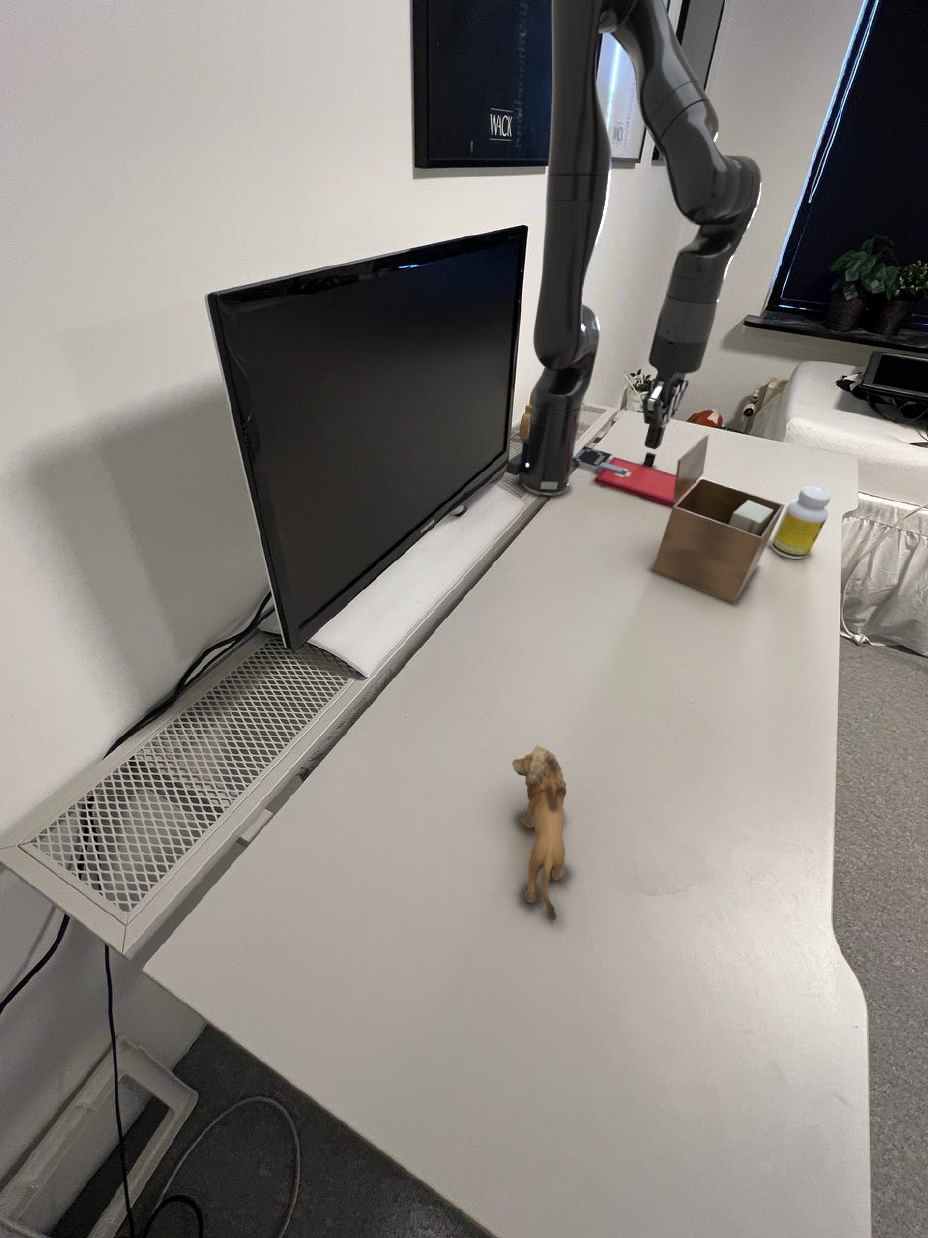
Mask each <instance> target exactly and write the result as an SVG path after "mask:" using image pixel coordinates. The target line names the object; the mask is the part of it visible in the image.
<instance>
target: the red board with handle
mask: <svg viewBox="0 0 928 1238" xmlns="http://www.w3.org/2000/svg"><path fill="white" fill-rule="evenodd" d="M612 455H613V454H612V453H609V452H606V451H602V450H599V449H595V448H592V447H588V446H587V445H586V446H583V447H582V448H581V449H580V450H579V451H578V452H577V453H576V454H575V455H573V459H572V463H576V464H579V465H581V466H586V467H589V468H593V469H596V470H597V474H596V476H595V477H594V480H593V481H594V483H597V484H600V485H603V486H606V487H610V488H613V489H616V490H619V491H622V492H625V493H628V494H630V495H631V494H632V495H635V496H637V497H641V498H645V499H648V500H649V501H650V500H651V501H653V502H656V503H660V504H663V505H666V506H670V507H673V506H674V505H675V504H676V503H677V502H678V501H679V500H680V499H681V498H682V497H683V496H684V495H685V493H686V492H687V491H688V490H689V489H690V488H691V487H692V486H693V485H694V484H695V483H696V482H697V481H698V480H697V481H696V482H695V483H694V484H693V485H692V486H691V487H690V488H689V489H688V490H687V491H686V492H685V493H684V494H683V495H682V496H681V497H680V498H679V499H678V500H677V501H676V502H675V503H674V502H673V497H674V489H675V480H676V474H674V473H669V472H667V471H663V470H660V469H656V468H653V467H654V463H655V460H656V456H657V454H656V453H652V452H650V451H649V452H646V454H645V457H644V461H643V464H639V463H636V462H633V461H629V460H626V459H622V458H619V457H617V456H616V457H615V456H613V457H612V458H611V456H612ZM610 458H611V459H610ZM609 459H610V460H609ZM608 460H609V462H608Z"/></svg>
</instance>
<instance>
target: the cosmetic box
mask: <svg viewBox="0 0 928 1238" xmlns="http://www.w3.org/2000/svg"><path fill="white" fill-rule="evenodd" d="M772 512H773V509H770V508H767V507H765V506H762V505H760V504H757V503H755V502H752V501H750V500H748V501H746V502H745V503H744V504H743V505H741V506H740V507H739V508H738V509H737V510H736V511H735V512H734V513H733V515H732V517H731V520H730V522H729V526H732V527H735V528H738V529H741V530H743V531H746V532H749V533H752V534H755V535H757V536H760V537H761V536H762V534H763V532H764V530H765V528H766V526H767V523H768V521H769V519H770V517H771V514H772Z"/></svg>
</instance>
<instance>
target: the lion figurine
mask: <svg viewBox="0 0 928 1238" xmlns="http://www.w3.org/2000/svg"><path fill="white" fill-rule="evenodd" d="M511 765H512V767H513V770H514V772H515V773H517V775H518V776H522V777H525V780H524V781H525V782H524V784H525V786H526V793H527V795H526V796H527V799H528V803H527V806H526V816H523V817H522V819H521V824H522V825H523V826H524V827H526V828H527V829H530V828H531V829H532V828H533V827H534V834H535V838H536V841H535V842H534V844H533V847H532V849H531V851H530V857H529V860H528V868H527V869H528V870H527V871H528V872H527V873H528V887H527V890H526V891H525V892H524V899H525V902H527V903H531V904H532V903H535V902H536V900H537V893H538V888H537V878H538V875H539V872H540V871H541V870H542V871H543V872H542V879H541V896H542V899H543V902H544V904H545V907H546V910H547V915H548V916H549V918H550V919H551V920H553V921H556V920H557V914H556V911H555V906H554V905H553V904H552V902H551V900H550V898H549V893H548V892H549V891H548V890H549V889H548V888H549V882H550V876H551V877H552V880H554V881H558V880H561V879H562V878H563V876H564V874H565V871H564V869H563V866H564V864H565V858H566V848H565V840H564V837H563V833H564V823H565V812H564V807H563V805H564V801H565V800H564V799H565V797H566V794H567V787H566V786H567V783H566V782H565V780H564V776H563V772H562V767H561V766H560V765H559V761H558V760H557V758H556V756H555V754H554V753H553V752H550V751H549V750H548V749H547V748H545V747H542V746H540V745H539V744H536V745H535V747H534V749H533V750H532V751H531V753H528V754H526V755H525V756H524V757H523V758H515V759H513V760H512V763H511ZM542 868H543V869H542Z"/></svg>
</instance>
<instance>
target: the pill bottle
mask: <svg viewBox="0 0 928 1238" xmlns="http://www.w3.org/2000/svg"><path fill="white" fill-rule="evenodd" d="M831 499H832V495H831V494H830V492H829V491H827V490H825V489H823V488H821V487H817V486H807V485H806V486H804V487H802V488H801V490H800V492H799V493H798V499H793V500H792V501H790V502H789V503H788V505H787V506H786V508H785V511H784V513H783V515H782V517H781V519H780V522H779V524H778V526H777V529H776V531H775V533H774V535H773V537H772V540H771V541H770V545H771V549H772V550H773V551H774V552H776V553H777V554H778V555H780V556H782V557H785V558H788V559H793V560H801V559H804V558H807V556H808V555H809V554H810V552H811V550H812V548H813V546H814V545H815V543H816V540H817V538H818V536H819V535H820V533H821V531H822V529H823V527H824V525H825V524H826V522H827V520H828V518H829V511H828V509H827V507H826V506H828V504H829V503H830V501H831Z"/></svg>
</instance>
